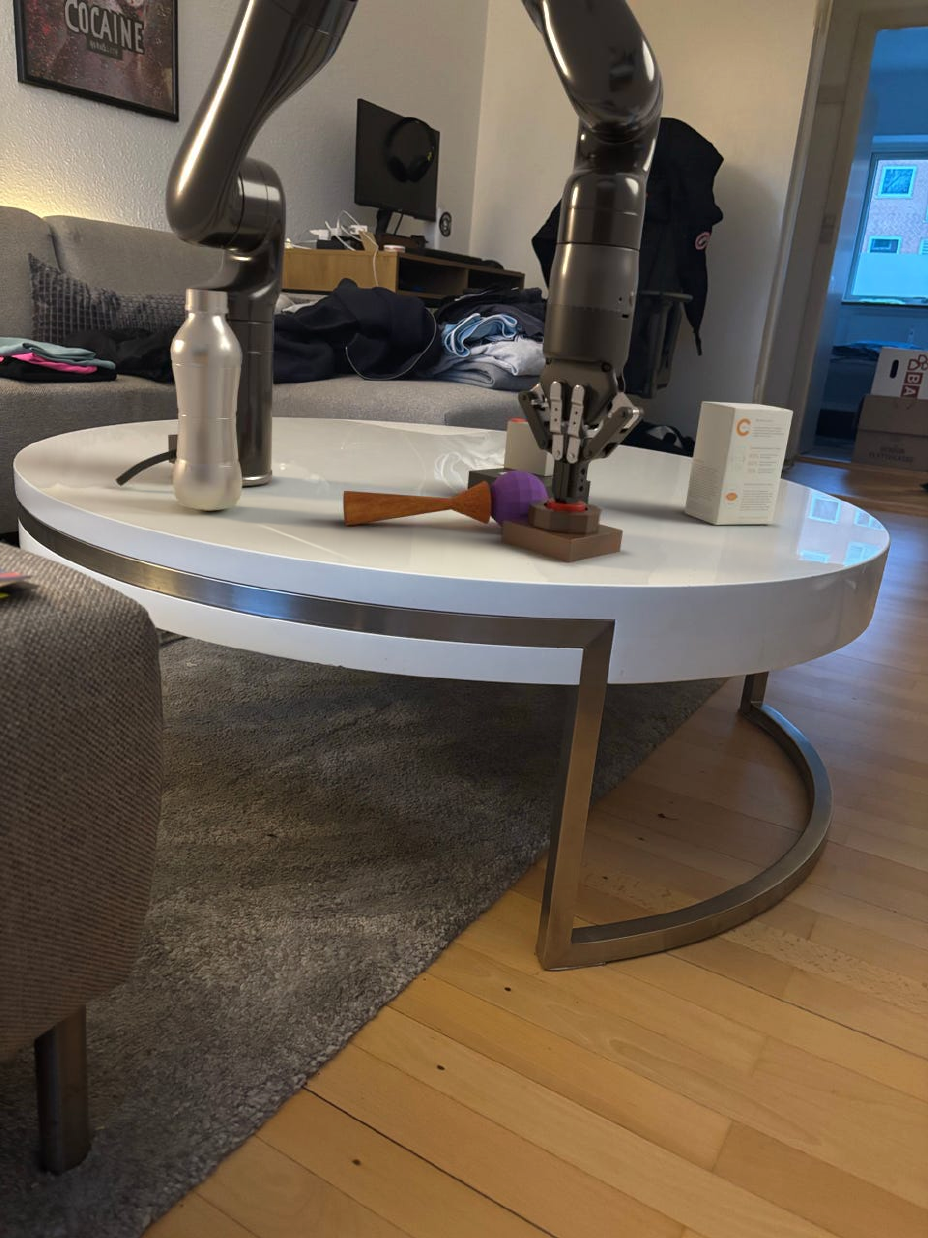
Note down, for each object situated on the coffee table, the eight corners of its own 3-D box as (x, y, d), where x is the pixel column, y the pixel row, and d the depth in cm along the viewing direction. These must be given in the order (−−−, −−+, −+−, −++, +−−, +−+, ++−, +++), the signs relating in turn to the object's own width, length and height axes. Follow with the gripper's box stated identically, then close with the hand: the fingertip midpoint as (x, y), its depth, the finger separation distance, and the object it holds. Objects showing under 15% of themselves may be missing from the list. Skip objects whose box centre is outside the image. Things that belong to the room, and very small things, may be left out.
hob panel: (532, 514, 99) (535, 485, 98) (453, 493, 107) (455, 466, 106) (598, 504, 108) (601, 478, 107) (520, 485, 115) (523, 460, 114)
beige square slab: (553, 475, 107) (559, 425, 105) (544, 476, 105) (550, 425, 103) (512, 466, 110) (517, 418, 108) (503, 467, 109) (508, 418, 107)
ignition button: (567, 529, 83) (569, 507, 82) (536, 520, 85) (539, 499, 84) (590, 525, 85) (593, 503, 85) (560, 517, 88) (563, 496, 87)
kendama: (340, 476, 89) (536, 469, 93) (343, 537, 90) (537, 528, 94) (347, 476, 83) (555, 469, 88) (350, 542, 84) (556, 531, 89)
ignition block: (568, 564, 81) (573, 519, 79) (500, 543, 86) (505, 501, 84) (620, 552, 86) (626, 511, 85) (553, 534, 91) (558, 494, 90)
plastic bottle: (251, 505, 92) (253, 294, 85) (228, 520, 85) (229, 292, 79) (188, 499, 92) (186, 288, 85) (161, 512, 86) (156, 286, 79)
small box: (738, 513, 111) (758, 403, 106) (772, 525, 105) (795, 410, 101) (682, 512, 108) (700, 399, 103) (714, 525, 102) (735, 406, 98)
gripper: (505, 296, 81) (486, 491, 86) (629, 305, 72) (600, 521, 78) (558, 302, 86) (537, 485, 91) (680, 311, 77) (649, 512, 83)
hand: (566, 501), depth 84 cm, fingers closed
